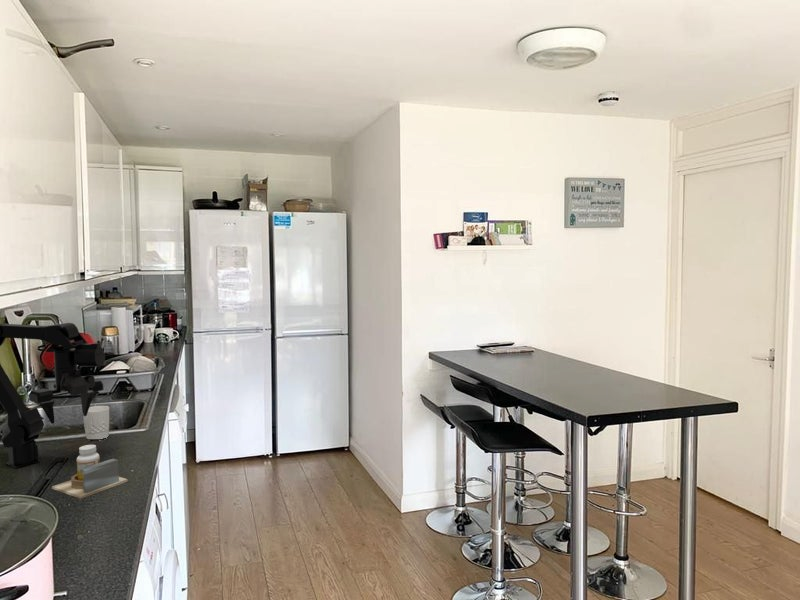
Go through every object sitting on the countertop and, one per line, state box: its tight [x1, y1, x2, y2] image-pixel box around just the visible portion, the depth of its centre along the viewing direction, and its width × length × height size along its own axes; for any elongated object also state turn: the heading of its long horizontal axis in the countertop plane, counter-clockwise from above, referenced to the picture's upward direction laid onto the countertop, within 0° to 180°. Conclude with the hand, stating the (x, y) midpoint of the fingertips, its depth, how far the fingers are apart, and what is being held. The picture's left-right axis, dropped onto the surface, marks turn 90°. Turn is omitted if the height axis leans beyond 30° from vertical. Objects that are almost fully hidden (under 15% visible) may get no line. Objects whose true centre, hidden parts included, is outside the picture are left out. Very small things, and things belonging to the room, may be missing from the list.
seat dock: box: [51, 458, 128, 500], centre depth 158 cm, size 13×13×6 cm
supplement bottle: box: [76, 444, 101, 481], centre depth 158 cm, size 5×5×10 cm
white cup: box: [82, 405, 110, 439], centre depth 198 cm, size 8×8×10 cm
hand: (69, 419), depth 174 cm, fingers open, 9 cm apart
